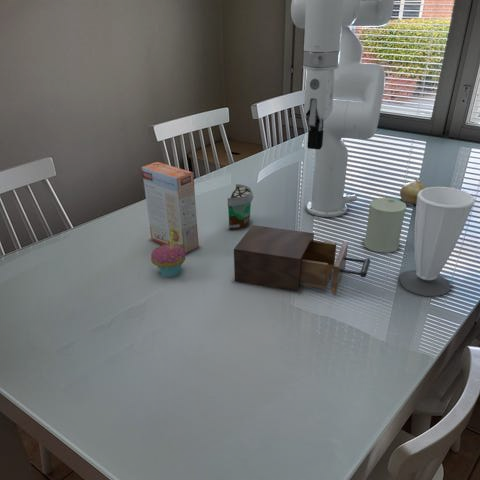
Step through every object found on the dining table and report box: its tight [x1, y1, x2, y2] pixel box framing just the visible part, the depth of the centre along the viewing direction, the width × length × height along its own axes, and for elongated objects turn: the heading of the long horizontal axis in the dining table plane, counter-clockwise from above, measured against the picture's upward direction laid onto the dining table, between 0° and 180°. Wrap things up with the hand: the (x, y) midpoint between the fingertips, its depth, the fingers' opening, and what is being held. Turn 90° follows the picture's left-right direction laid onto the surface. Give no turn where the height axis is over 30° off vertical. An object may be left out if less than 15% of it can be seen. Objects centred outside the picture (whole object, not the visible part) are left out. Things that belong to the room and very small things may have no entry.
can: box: [363, 197, 407, 253], centre depth 126 cm, size 9×9×12 cm
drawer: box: [300, 239, 371, 295], centre depth 112 cm, size 20×13×7 cm, turn 70°
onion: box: [399, 177, 426, 205], centre depth 151 cm, size 8×8×7 cm
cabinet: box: [233, 224, 315, 293], centre depth 116 cm, size 16×14×9 cm
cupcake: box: [150, 229, 187, 278], centre depth 116 cm, size 9×8×12 cm
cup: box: [399, 186, 476, 298], centre depth 107 cm, size 12×12×22 cm
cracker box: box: [141, 161, 200, 254], centre depth 126 cm, size 14×6×21 cm, turn 47°
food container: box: [227, 183, 254, 231], centre depth 139 cm, size 12×6×10 cm, turn 168°
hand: (314, 147), depth 112 cm, fingers closed
